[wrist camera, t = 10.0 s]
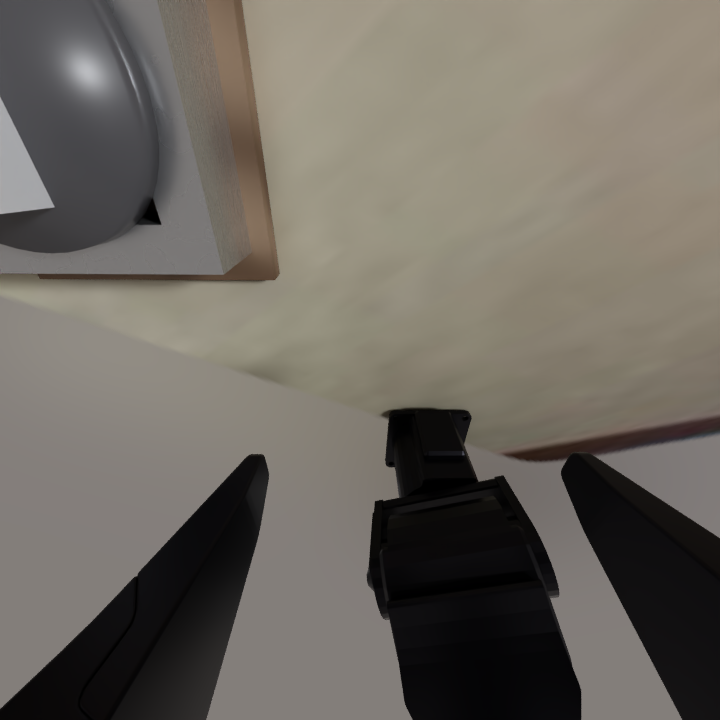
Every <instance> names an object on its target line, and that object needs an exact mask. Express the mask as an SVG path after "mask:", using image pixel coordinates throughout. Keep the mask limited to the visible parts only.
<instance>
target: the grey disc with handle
mask: <svg viewBox="0 0 720 720" xmlns="http://www.w3.org/2000/svg"><path fill="white" fill-rule="evenodd" d="M158 170H159V140H158V133H157V125H156V119H155V115H154V111H153V106H152V102H151V98H150V95H149V92H148V89H147V86H146V83H145V80H144V77H143V74H142V71H141V69H140V67H139V64H138V62H137V60H136V58H135V55H134V53H133V51H132V48H131V46H130V44H129V42H128V40H127V38H126V36H125V35H124V33H123V31H122V29H121V27H120V25H119V23H118V21H117V20H116V18H115V16H114V14H113V13H112V11H111V10H110V8H109V7H108V5H107V3H106V2H105V0H0V244H2V245H6V246H9V247H13V248H16V249H21V250H26V251H31V252H38V253H52V254H53V253H69V252H73V251H78V250H82V249H86V248H89V247H93V246H96V245H100V244H103V243H107V242H109V241H111V240H114V239H116V238H119V237H120V236H122V235H123V234H125V233H127V232H128V231H130V230H131V229H132V228H133V227H134V226H135V225H136V224H137V223H138V222H139V221H140V219H141V218H142V216H143V215H144V214H145V212H146V211H147V209H148V207H149V204H150V202H151V200H152V198H153V195H154V191H155V187H156V184H157V179H158Z"/></svg>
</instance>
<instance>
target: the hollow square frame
mask: <svg viewBox="0 0 720 720" xmlns="http://www.w3.org/2000/svg"><path fill="white" fill-rule="evenodd" d="M105 2H106V3H107V5H108V7H109V8H110V10H111V11H112V13H113V14H114V16H115V18H116V20H117V21H118V23H119V25H120V27H121V29H122V31H123V33H124V35H125V36H126V38H127V40H128V42H129V44H130V46H131V48H132V51H133V53H134V55H135V58H136V60H137V62H138V64H139V67H140V69H141V71H142V74H143V77H144V80H145V83H146V86H147V89H148V92H149V95H150V98H151V102H152V106H153V111H154V115H155V119H156V125H157V133H158V140H159V170H158V179H157V184H156V187H155V191H154V195H153V200H154V203H155V206H156V209H157V212H145V214H144V215H143V216H142V218H141V219H140V221H139V222H138V223H137V224H136V225H135V226H134V227H133V228H132V229H131V230H130V231H128V232H127V233H125V234H123V235H122V236H120V237H119V238H116V239H114V240H111V241H109V242H107V243H103V244H100V245H96V246H93V247H89V248H86V249H82V250H78V251H73V252H69V253H53V254H52V253H38V252H31V251H26V250H21V249H16V248H13V247H9V246H6V245H2V244H0V273H18V274H187V275H224V274H225V273H226V272H228V271H229V270H230V269H231V268H233V267H234V266H235V265H237V264H238V263H239V262H240V261H242V260H243V259H244V258H245V257H247V256H248V255H249V254H250V253H252V250H251V244H250V239H249V233H248V228H247V223H246V217H245V212H244V206H243V201H242V195H241V190H240V184H239V179H238V173H237V168H236V162H235V157H234V152H233V146H232V141H231V135H230V130H229V124H228V119H227V113H226V108H225V102H224V97H223V91H222V86H221V81H220V75H219V70H218V64H217V59H216V53H215V48H214V42H213V37H212V31H211V26H210V21H209V15H208V10H207V4H206V0H105Z"/></svg>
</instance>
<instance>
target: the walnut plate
mask: <svg viewBox="0 0 720 720" xmlns="http://www.w3.org/2000/svg"><path fill="white" fill-rule="evenodd" d="M206 4H207V10H208V15H209V21H210V26H211V31H212V37H213V42H214V48H215V53H216V59H217V64H218V70H219V75H220V81H221V86H222V91H223V97H224V102H225V108H226V113H227V119H228V124H229V130H230V135H231V141H232V146H233V152H234V157H235V162H236V168H237V173H238V179H239V184H240V190H241V195H242V201H243V206H244V212H245V217H246V223H247V228H248V233H249V239H250V244H251V250H252V253H250V254H249V255H248V256H247V257H245V258H244V259H243V260H242V261H240V262H239V263H238V264H237V265H235V266H234V267H233V268H231V269H230V270H229V271H228V272H226V273H225V274H224V275H187V274H38V276H39V278H40V279H160V280H275V279H276V278H277V277H278V275H279V274H280V273H279V266H278V259H277V252H276V245H275V238H274V230H273V223H272V216H271V209H270V202H269V194H268V187H267V180H266V173H265V166H264V159H263V151H262V144H261V137H260V130H259V123H258V116H257V108H256V101H255V94H254V87H253V80H252V72H251V65H250V58H249V51H248V44H247V37H246V29H245V22H244V15H243V8H242V1H241V0H206ZM146 212H157V209H156V206H155V203H154V200H153V198H152V200H151V202H150V204H149V207H148V209H147V211H146Z"/></svg>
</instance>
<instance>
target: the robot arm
mask: <svg viewBox="0 0 720 720" xmlns="http://www.w3.org/2000/svg"><path fill="white" fill-rule="evenodd" d="M395 416H397V417H395ZM464 416H466V417H464ZM470 422H471V415H470V413H469V412H468V411H465V410H396V411H392V412H391V413H390V414H389V423H388V435H387V447H386V458H385V461H386V465H387V466H388V467H395V470H396V477H397V484H398V492H399V498H396V499H391V500H386V501H383V500H379V501H375V508H374V513H373V517H372V518H373V519H372V531H371V545H370V558H369V568H368V572H367V582H368V586H369V587H370V588H371V589H372V590H373V591H374V592H375V597H376V601H377V605H378V608H379V611H380V613H381V616H382V617H383V619H385V620H389V619H390V623H391V628H392V633H393V638H394V642H395V647H396V652H397V657H398V661H399V667H400V674H401V681H402V688H403V694H404V701H405V705H406V707H407V709H408V711H409V713H410V715H411V717H412V719H413V720H581V689H580V685H579V683H578V680H577V678H576V675H575V672H574V670H573V667H572V662H571V658H570V655H569V652H568V650H567V646H566V644H565V641H564V638H563V635H562V632H561V629H560V626H559V623H558V620H557V617H556V614H555V612H554V609H553V606H552V603H551V600H550V598H555V597H559V588H558V583H557V580H556V576H555V573H554V570H553V567H552V564H551V562H550V559H549V557H548V554H547V552H546V550H545V547H544V545H543V543H542V541H541V539H540V537H539V535H538V533H537V531H536V529H535V527H534V526H533V524H532V522H531V520H530V519H529V517H528V516H527V514H526V512H525V511H524V509H523V507H522V505H521V504H520V502H519V501H518V499H517V497H516V496H515V494H514V492H513V491H512V489H511V488H510V486H509V484H508V482H507V481H506V479H505V477H504V476H498V477H495V479H490V480H485V481H480V482H478V479H477V477H476V474H475V471H474V469H473V466H472V464H471V461H470V459H469V456H468V454H467V451H466V449H465V446H464V442H465V439H466V435H467V432H468V428H469V425H470ZM561 476H562V479H563V482H564V484H565V486H566V489H567V492H568V494H569V496H570V499H571V501H572V503H573V506H574V509H575V511H576V513H577V516H578V518H579V521H580V523H581V525H582V528H583V530H584V532H585V534H586V536H587V538H588V540H589V542H590V544H591V546H592V548H593V550H594V552H595V553H596V555H597V557H598V559H599V561H600V563H601V565H602V567H603V569H604V571H605V573H606V575H607V576H608V578H609V580H610V582H611V584H612V586H613V588H614V590H615V592H616V593H617V595H618V597H619V599H620V601H621V603H622V605H623V607H624V609H625V611H626V613H627V615H628V616H629V619H630V620H631V622H632V624H633V626H634V628H635V630H636V632H637V634H638V636H639V638H640V639H641V641H642V643H643V645H644V647H645V649H646V651H647V653H648V655H649V656H650V659H651V661H652V662H653V664H654V666H655V668H656V670H657V672H658V674H659V676H660V678H661V680H662V682H663V684H664V685H665V687H666V689H667V691H668V693H669V695H670V697H671V699H672V701H673V702H674V705H675V706H676V708H677V710H678V712H679V714H680V716H681V718H682V720H720V538H719V537H717V536H716V535H714V534H713V533H711V532H709V531H708V530H706V529H705V528H703V527H702V526H700V525H699V524H697V523H696V522H694V521H693V520H691V519H690V518H688V517H687V516H685V515H683V514H682V513H680V512H679V511H677V510H676V509H674V508H673V507H671V506H670V505H668V504H667V503H665V502H663V501H662V500H660V499H659V498H657V497H656V496H654V495H653V494H651V493H649V492H648V491H647V490H645V489H644V488H642V487H641V486H639V485H637V484H636V483H634V482H633V481H631V480H630V479H628V478H627V477H625V476H624V475H622V474H621V473H619V472H617V471H616V470H614V469H613V468H611V467H610V466H608V465H607V464H605V463H604V462H602V461H601V460H599V459H598V458H596V457H595V456H593V455H591V454H590V453H587V452H573V453H571V454H570V456H569V457H568V459H567V461H566V463H565V464H564V466H563V468H562V470H561ZM268 480H269V472H268V468H267V464H266V460H265V457H264V455H262V454H251V455H249V456H247V457H246V458H245V459H244V460H243V461H242V462H241V464H240V465H239V466H238V467H237V468H236V469H235V470H234V471H233V472H232V473H231V474H230V476H228V477H227V479H226V480H225V481H224V482H223V483H222V484H221V485H220V486H219V487H218V488H217V489H216V490H215V491H214V493H213V494H212V495H211V496H210V497H209V498H208V499H207V500H206V501H205V502H204V503H203V504H202V505H201V506H200V507H199V509H198V510H197V511H196V512H195V513H194V514H193V515H192V516H191V517H190V518H189V519H188V521H186V522H185V524H184V525H183V526H182V527H181V528H180V529H179V530H178V531H177V532H176V533H175V534H174V535H173V536H172V537H171V538H170V540H169V541H168V542H167V543H166V544H165V545H164V546H163V547H162V548H161V549H160V550H159V551H158V552H157V553H156V555H155V556H154V557H153V558H152V559H151V560H150V561H149V562H148V563H147V564H146V565H145V566H144V567H143V568H142V569H141V571H140V572H139V573H138V576H136V577H134V578H133V579H132V580H131V581H130V582H129V583H128V584H127V585H126V586H125V587H124V589H123V590H122V591H121V592H120V593H119V594H118V595H117V596H116V597H115V598H114V599H113V600H112V601H111V602H110V603H109V604H108V605H107V606H106V607H105V608H104V610H102V612H101V613H100V614H99V615H98V616H97V617H96V618H95V619H94V620H93V621H92V622H91V623H90V624H89V625H88V626H87V627H86V628H85V629H84V630H83V631H82V632H80V633H79V634H78V635H77V636H76V637H75V638H74V639H73V640H72V641H71V642H70V643H69V644H68V645H67V646H66V647H65V648H64V649H63V650H62V651H61V652H60V653H59V654H58V655H57V656H56V657H55V658H54V659H53V660H51V662H49V663H48V664H47V665H46V666H45V667H44V668H43V669H42V670H41V671H40V672H39V673H38V674H37V675H36V676H35V677H33V678H32V679H31V680H30V682H28V683H27V684H26V685H25V686H24V687H23V688H22V689H21V690H20V691H19V692H18V693H17V694H16V695H15V696H14V697H12V698H11V699H10V700H9V701H8V702H7V703H6V704H5V705H4V706H3V707H2V708H1V709H0V720H206V718H207V715H208V711H209V708H210V704H211V701H212V697H213V694H214V690H215V687H216V683H217V680H218V676H219V673H220V669H221V666H222V662H223V658H224V655H225V652H226V648H227V645H228V641H229V638H230V634H231V631H232V627H233V624H234V620H235V617H236V613H237V610H238V606H239V602H240V599H241V596H242V592H243V589H244V585H245V582H246V578H247V574H248V571H249V568H250V564H251V560H252V557H253V554H254V550H255V547H256V543H257V539H258V535H259V530H260V526H261V520H262V514H263V509H264V503H265V497H266V491H267V486H268Z"/></svg>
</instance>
